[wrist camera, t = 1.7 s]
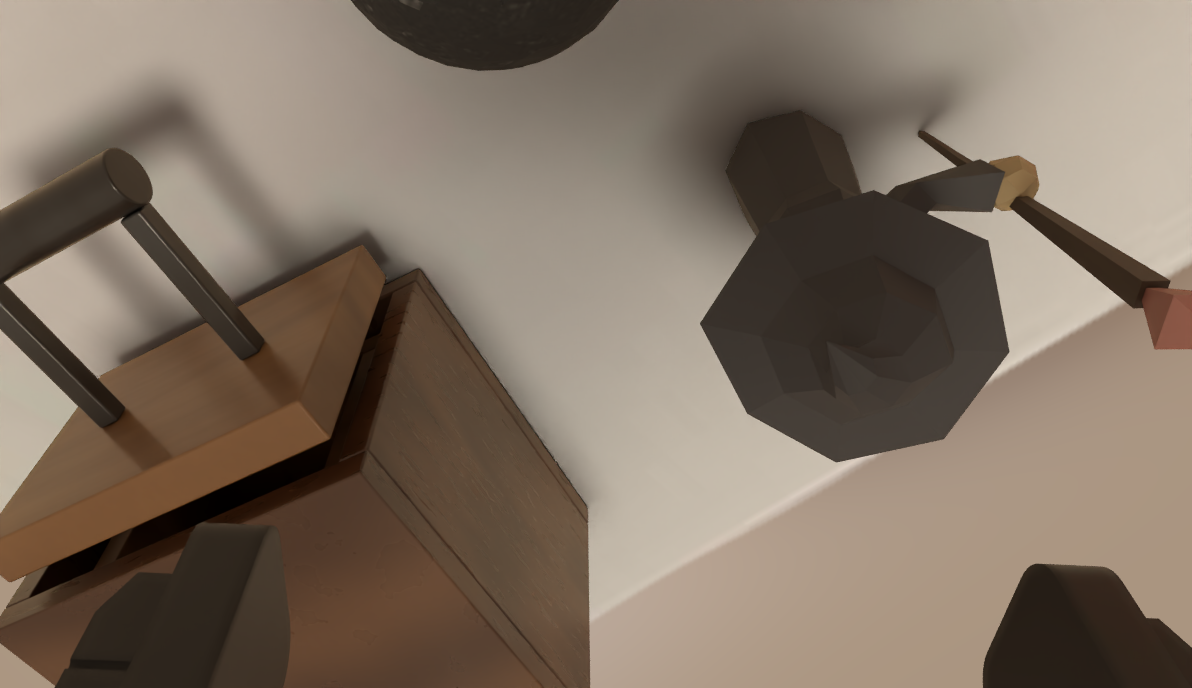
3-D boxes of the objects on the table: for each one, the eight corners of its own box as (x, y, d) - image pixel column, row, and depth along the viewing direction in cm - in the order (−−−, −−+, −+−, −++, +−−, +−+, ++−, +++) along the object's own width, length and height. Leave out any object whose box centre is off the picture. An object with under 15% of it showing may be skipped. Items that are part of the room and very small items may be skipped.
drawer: (-51, 220, 26) (-245, 375, 20) (229, 59, 24) (107, 176, 18) (295, 574, 33) (231, 766, 27) (532, 476, 31) (521, 662, 25)
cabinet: (135, 405, 30) (-13, 634, 23) (419, 266, 28) (359, 472, 20) (334, 609, 36) (267, 852, 28) (588, 508, 33) (591, 745, 25)
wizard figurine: (763, 297, 29) (863, 610, 19) (639, 168, 26) (677, 444, 16) (1011, 112, 26) (1292, 365, 16) (896, -51, 23) (1137, 120, 13)
